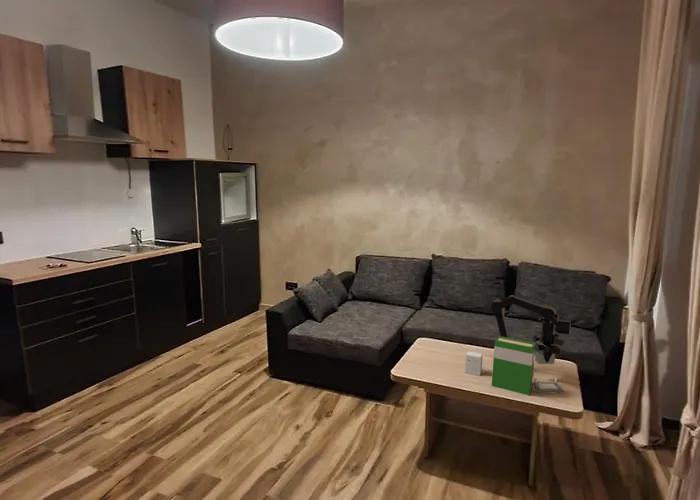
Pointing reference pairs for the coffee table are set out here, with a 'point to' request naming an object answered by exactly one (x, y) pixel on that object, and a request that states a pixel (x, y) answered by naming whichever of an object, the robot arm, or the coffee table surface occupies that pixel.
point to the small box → (473, 363)
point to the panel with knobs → (547, 386)
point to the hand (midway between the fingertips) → (544, 360)
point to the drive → (543, 358)
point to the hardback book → (513, 365)
